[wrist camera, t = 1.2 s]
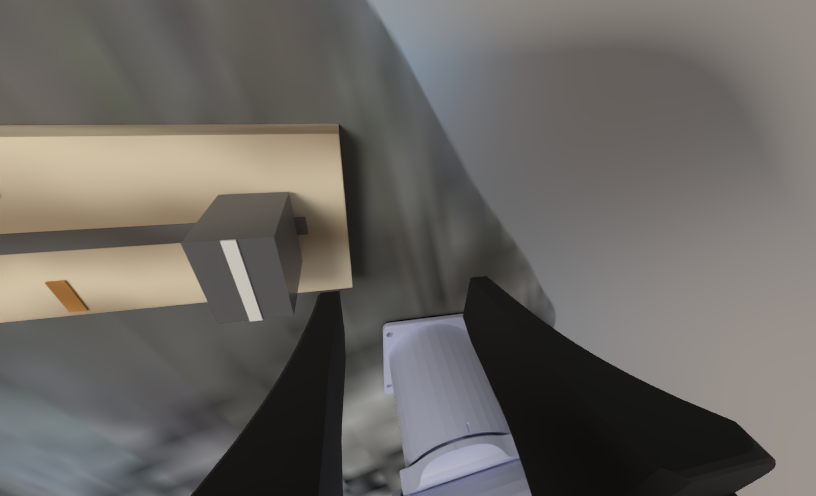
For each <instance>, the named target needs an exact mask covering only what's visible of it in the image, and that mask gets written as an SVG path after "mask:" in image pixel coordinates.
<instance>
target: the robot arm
mask: <svg viewBox="0 0 816 496" xmlns="http://www.w3.org/2000/svg"><path fill="white" fill-rule="evenodd" d="M473 347H474V348H473ZM477 356H478V357H477ZM478 358H479V359H478ZM479 360H480V361H479ZM345 361H346V357H345V333H344V324H343V316H342V308H341V300H340V292H339V291H335V292H325V293H320V294H319V295H318V298H317V301H316V304H315V307H314V309H313V312H312V314H311V317H310V319H309V321H308V324H307V326H306V328H305V330H304V332H303V334H302V336H301V338H300V340H299V342H298V345H297V346H296V348H295V350H294V352H293V354H292V356H291V357H290V359H289V361H288V363H287V365H286V366H285V368H284V370H283V372H282V373H281V375H280V377H279V378H278V380H277V382H276V383H275V385H274V386H273V388H272V389H271V391H270V393H269V394H268V396H267V397H266V399H265V400H264V402H263V403H262V405H261V406H260V407H259V409H258V410H257V412H256V413H255V414H254V416H253V417H252V419H251V420H250V421H249V423H248V424H247V426H246V427H245V428H244V430H243V431H242V433H241V434H240V435H239V436H238V438H237V439H236V440H235V442H234V443H233V444H232V446H231V447H230V448H229V449H228V451H227V452H226V453H225V454H224V456H223V457H222V458H221V459H220V461H219V462H218V463H217V464H216V465H215V467H214V468H213V469H212V470H211V472H210V473H209V474H208V475H207V477H206V478H205V479H204V480H203V481H202V483H201V484H200V485H199V486H198V488H197V489H196V490H195V491H194V492H193V493H192V495H191V496H343V484H342V445H341V436H342V413H343V396H344V379H345ZM480 362H481V363H480ZM481 365H482V366H481ZM482 367H483V368H482ZM483 369H484V370H483ZM383 371H384V393H385V394H387V395H390V394H394V397H395V403H396V409H397V415H398V422H399V428H400V434H401V440H402V446H403V453H404V459H405V465H406V468H405V469H402V470H400V477H401V484H402V489H399V490H396V491H395V492H394V493H393V495H392V496H737V495H736V494H735V492H736V491H738V490H740V489H742V488H743V487H745V486H747V485H748V484H750V483H752V482H754V481H755V480H757V479H759V478H761V477H762V476H764V475H765V474H767V473H769V472H770V471H771V470H772V469H773V468H774V467H775V465H776V463H775V459H774V458H773V457H772V456H771V455H770V454H769V453H768V452H766V451H765V450H764V449H763V448H762V447H761V446H760V445H759V444H758V443H757V442H756V441H755V440H754V439H753V438H752V437H751V436H750V435H749V434H747V432H746V431H745V430H744V429H742V428H741V427H740V426H739V425H738V424H737V423H736V422H735V421H732V420H730V419H728V418H725V417H723V416H720V415H718V414H716V413H713V412H710V411H708V410H706V409H704V408H701V407H699V406H696V405H694V404H691V403H689V402H687V401H684V400H682V399H680V398H677V397H675V396H673V395H671V394H669V393H667V392H665V391H662V390H660V389H658V388H656V387H654V386H652V385H650V384H648V383H646V382H644V381H642V380H639V379H638V378H635V377H634V376H632V375H630V374H628V373H626V372H624V371H622V370H620V369H619V368H617V367H615V366H613V365H611V364H609V363H608V362H606V361H604V360H602V359H601V358H599V357H597V356H595V355H593V354H592V353H590V352H589V351H587V350H585V349H584V348H582V347H581V346H579V345H577V344H575V343H574V342H573V341H571V340H569V339H568V338H566V337H565V336H563V335H562V334H561V333H559V332H558V331H556V330H555V329H553V328H552V327H551V326H549V325H548V324H546V323H545V322H544V321H542V320H541V319H539V318H538V317H537V316H535V315H534V314H533V313H532V312H530V311H529V310H528V309H526V308H525V307H524V306H523V305H521V304H520V303H519V302H517V301H516V300H515V299H514V298H513V297H511V296H510V295H509V294H508V293H506V292H505V291H504V290H503V289H501V288H500V287H499V286H498V285H497V284H495V283H494V282H493V281H492V280H490V279H489V278H488V277H486V276H483V277H473V278H470V283H469V288H468V293H467V298H466V303H465V308H464V313H463V314H456V315H447V316H439V317H431V318H423V319H415V320H407V321H399V322H391V323H386V324H385V325H384V326H383ZM484 371H485V372H484ZM485 373H486V374H485ZM486 375H487V377H488V379H489V381H490V383H489V381H488V379H487V377H486ZM490 384H491V386H492V388H493V390H494V392H495V394H496V396H497V398H498V401H499V403H500V405H501V408H502V410H503V413H504V415H505V417H504V415H503V413H502V410H501V408H500V406H499V404H498V401H497V399H496V397H495V395H494V392H493V390H492V388H491V386H490ZM505 418H506V419H505ZM506 421H507V422H506Z"/></svg>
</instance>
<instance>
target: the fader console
mask: <svg viewBox="0 0 816 496" xmlns="http://www.w3.org/2000/svg"><path fill="white" fill-rule="evenodd" d="M272 192H289V196H290V201H291V205H292V210H293V215H294V220H295V225H296V230H297V235H298V240H299V245H300V250H301V255H302V260H303V262H302V268H301V274H300V280H299V286H298V293H301V292H311V291H321V290H331V289H341V288H351V287H352V272H351V259H350V248H349V237H348V226H347V214H346V203H345V192H344V181H343V170H342V158H341V147H340V136H339V125H338V124H193V125H0V323H1V322H11V321H21V320H31V319H41V318H51V317H61V316H71V315H81V314H91V313H101V312H111V311H121V310H131V309H141V308H151V307H161V306H171V305H181V304H191V303H201V302H208V301H207V299H206V297H205V295H204V293H203V291H202V289H201V286H200V284H199V282H198V280H197V278H196V276H195V274H194V271H193V269H192V267H191V265H190V263H189V261H188V259H187V256H186V254H185V252H184V250H183V248H182V246H181V242H182V240H183V239H184V238H185V236H186V235H187V234H188V233H189V231H190V230H191V229H192V228H193V226H194V225H195V224H196V223H197V221H198V220H199V219H200V217H201V216H202V215H203V214H204V212H205V211H206V210H207V209H208V207H209V206H210V205H211V203H212V202H213V201H214V200H215V198H216V197H217V196H218V195H225V194H248V193H272Z"/></svg>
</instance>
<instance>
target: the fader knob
mask: <svg viewBox="0 0 816 496" xmlns="http://www.w3.org/2000/svg"><path fill="white" fill-rule="evenodd" d="M181 246H182V248H183V250H184V252H185V254H186V256H187V259H188V261H189V263H190V265H191V267H192V269H193V271H194V274H195V276H196V278H197V280H198V282H199V284H200V286H201V289H202V291H203V293H204V295H205V297H206V299H207V301H208V304H209V306H210V308H211V310H212V312H213V314H214V316H215V319H216V321H217V323H218V324H222V323H230V322H239V321H248V320H250V321H259V320H263V319H266V318H275V317H284V316H293V315H294V311H295V305H296V299H297V293H298V286H299V280H300V274H301V268H302V262H303V260H302V255H301V250H300V245H299V240H298V235H297V230H296V225H295V220H294V215H293V210H292V205H291V201H290V196H289V192H272V193H248V194H225V195H218V196H217V197H216V198H215V200H214V201H213V202H212V203H211V205H210V206H209V207H208V209H207V210H206V211H205V212H204V214H203V215H202V216H201V217H200V219H199V220H198V221H197V223H196V224H195V225H194V226H193V228H192V229H191V230H190V231H189V233H188V234H187V235H186V236H185V238H184V239H183V240H182V242H181Z"/></svg>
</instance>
